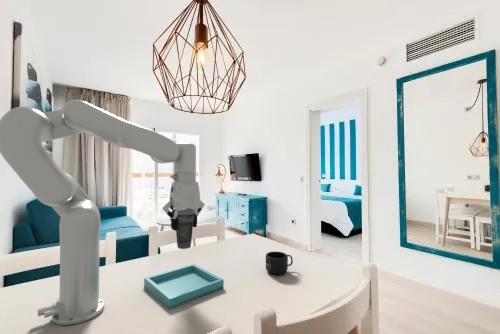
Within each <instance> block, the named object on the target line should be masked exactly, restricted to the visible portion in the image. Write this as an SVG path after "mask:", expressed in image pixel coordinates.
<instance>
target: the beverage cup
mask: <svg viewBox="0 0 500 334" xmlns="http://www.w3.org/2000/svg"><path fill="white" fill-rule="evenodd" d="M194 215H195V213H194V210H193V209H191V208H187V209H186V210H184V211H179V212H178V215H177V217H176V219H178V230H177V231H175V233H176V234H175V235H176V243H177V248H178V249H179V250H184V249H185V250H187V249H190V248H191V246H192V240H193V239H192V238H193V229H194V227H193V220H194Z"/></svg>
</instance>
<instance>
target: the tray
mask: <svg viewBox="0 0 500 334" xmlns="http://www.w3.org/2000/svg"><path fill="white" fill-rule="evenodd" d="M143 279H144V281H143V284H144V285H143V287H144V288H145V289H146V290H147V291H149V292H150V294H152V295H153V296H154V297H156V298H157V299H158V300H159V301H160V302H161V303H162V304H163V305H164V306H166V307H167V308H168V309H169V310H172V309H174V308H177V307H179V306H180V307H181V305H185V304H187V303H189V302H193V301H194V300H197V299H200V298H202V297H205V296H209V294H210V295H211V294H212V293H215V292H217V291H220V290H223V289H224V280H225V279H224V278H221V277H220V276H218V275H215V274H214V273H211V272H210V271H208V270H206V269H204V268H202V267H200V266H198V265H196V264H194V263H191V264H190V265H189V264H187V265H185V266H181V267H179V268H175V269H172V270H168V271H164V272H161V273H156V274H154V275H150V276H146V277H144V278H143Z"/></svg>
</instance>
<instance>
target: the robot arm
mask: <svg viewBox="0 0 500 334" xmlns="http://www.w3.org/2000/svg"><path fill="white" fill-rule="evenodd" d="M83 133H84V134H86V135H89V136H91V137H94V138H95V139H99V140H101V141H102V142H106V143H108V144H110V145H112V146H115V147H118V148H125V149H130V150H133V151H137V152H139V153H143V154H145V155H147V156H149V157H150V158H151V160H152V161H153V162H155V163H158V164H168V163H170V164H171V163H173V174H170V179H172V180H173V181H172V182H171V187H170V193H169V201H168V202H167V203H166V204H165V205H164V206H163V207H162V211H163V212H164V213H165V214H166V215H167V216H168V217H169V218H170V228H171V230H173V231H175V232H176V231H177V230H178V219H176V217H177V215H178V212H179V211H184V210H186V209H187V208H191V209H193V210H194V213H195V215H194V220H193V228H197V227H198V226H197V225H198V216H199V215H200V212H202V209H203V208H204V206H205V203H204V202H203V200H201V192H200V187H199V186H200V185H199V182H198V181H196V180H197V176H196V175H197V147H196V145H195V144H194V143H190V142H178V143H176V142H175V141H174V140H172V139H170V138H168V137H167V136H166V135H165V136H164V135H163V134H161V133H158V132H156V131H154V130H152V129H149V128H146V127H144V126H140V125H138V124H136V123H133V122H132V121H131V122H130V121H127V120H125V119H124V118H121V117H119V116H116V115H115V114H113V113H110V112H108V111H106V110H104V109H102V108H100V107H97V106H95V105H94V104H91V103H89V102H87V101H84V100H81V99H71V100H69V101H67V102H66V103H65V104H63V105H62V108H61V109H56V110H52V111H51V110H50V111H45V112H42V111H40V110H39V109H37V108H34V107H30V106H17V107H14V108H12V109H10V110H8V111H7V112H5V113H4V115H2V117H1V118H0V154H1V156H2V158H3V159H4V160H5V162H6V163H7V164H8V166H10V168H12V170H13V171H14V172H15V173H16V174H17V176H18V178H20V180H21V181H22V182H23V183H24V184H25V185H26V187H27V188H28V189H29V190H30V191H31V193H32V194H33V195H34V196H35V198H36V199H37V200H38V201H39V202H40V203H42V204H43V205H45V206H48V207H51V208H52V209H53V210H54V211H55V212H56V213H57V215H58V216H59V217H60V219H59V225H58V226H59V293H58V295H59V296H58V297H59V298H56V302H54V303H52V305H49V306H43V307H40V308H37V317H42V316H43V318H44V319H45V318H49V317H51V321H52V322H53V323H54V324H55V325H59V326H69V325H71V326H72V325H75V324H80V323H83V322H86V321H88V320H90V319H93V318H95V317H96V316H99V314H101V312H103V310H104V309H105V307H106V306H105V303H106V302H105V301H104V299H102V298H100V238H101V213H100V210H99V208H98V206H97V205H96V203H95V202H94V201H93V200H92V198H91V197H90V196H89V195H88V193H87V192H86V191H85V190H84V189H83V187H82V186H81V185H80V184H79V182H78V181H77V180H76V179H75V178H74V177H73V175H70V174H69V173H66V172H64V170H63V169H62V168H61V167H60V165H58V163H57V162H56V161H55V160H54V158H53V157H52V156H51V155H50V153H49V152H48V151H47V149H45V147H44V146H43V144H42V143H45V142H51V141H55V140H59V139H64V138H67V137H72V136H75V135H79V134H83Z"/></svg>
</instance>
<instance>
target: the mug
mask: <svg viewBox="0 0 500 334" xmlns="http://www.w3.org/2000/svg"><path fill="white" fill-rule="evenodd" d="M289 257H290V263H289V261H288V260H289ZM288 263H289V264H288ZM293 263H294V260H293V256H292V255H290V254H287V253H286V252H282V251H269V252H267V253H266V254H265V270H266V272H267V273H269V274H271V275H273V276H281V275H283V274H286V273H287V271H288V269H289V268H288V267H290V266H292V265H293Z"/></svg>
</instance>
